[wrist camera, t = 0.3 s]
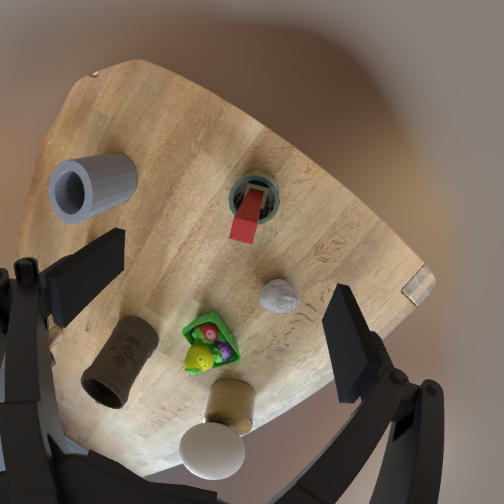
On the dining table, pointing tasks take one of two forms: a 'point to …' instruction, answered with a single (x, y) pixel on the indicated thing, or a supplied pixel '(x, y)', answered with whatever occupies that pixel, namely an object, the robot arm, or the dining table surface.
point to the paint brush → (249, 212)
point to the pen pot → (271, 201)
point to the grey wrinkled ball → (279, 296)
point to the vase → (91, 186)
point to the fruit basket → (209, 344)
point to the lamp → (220, 431)
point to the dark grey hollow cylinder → (120, 362)
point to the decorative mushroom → (54, 339)
